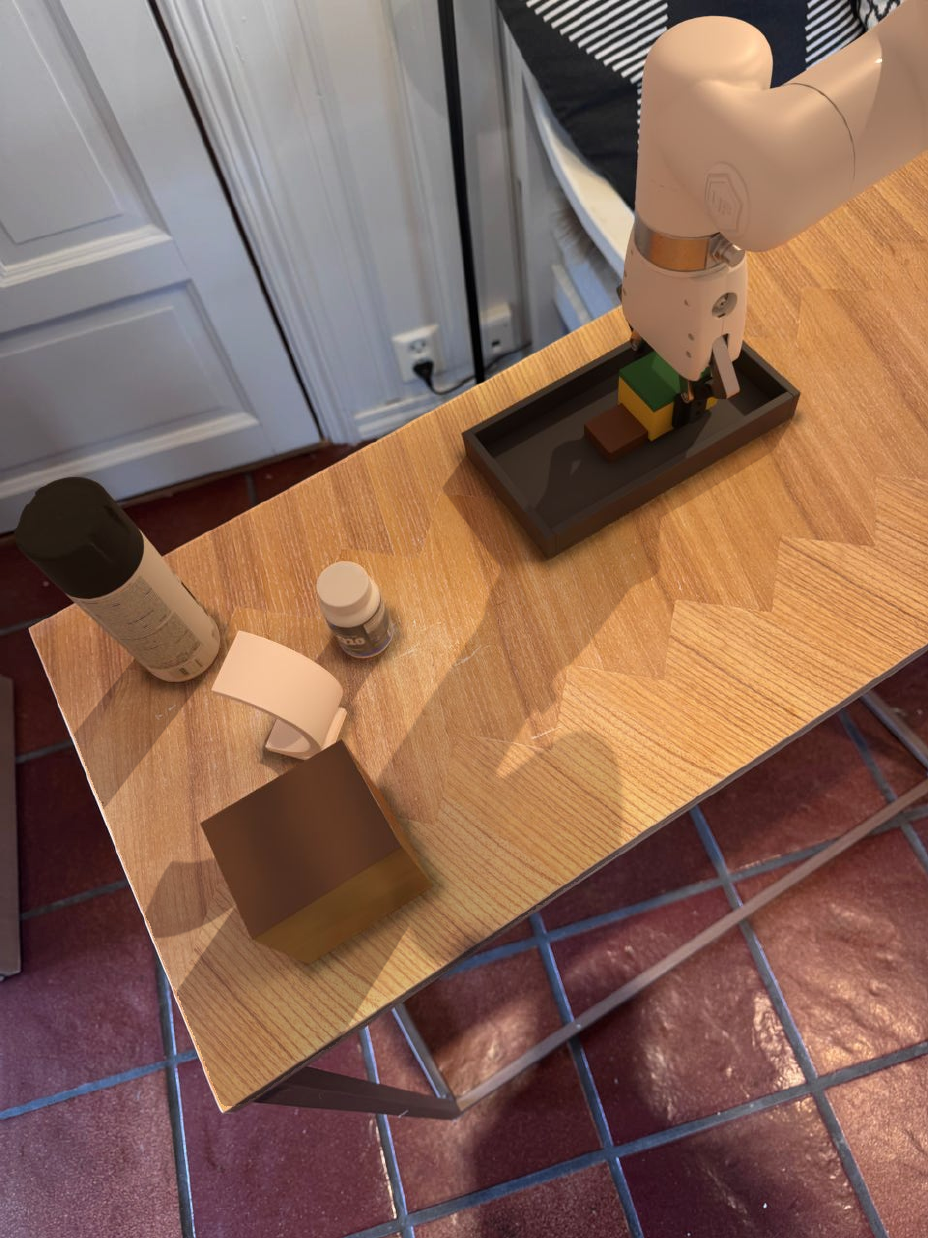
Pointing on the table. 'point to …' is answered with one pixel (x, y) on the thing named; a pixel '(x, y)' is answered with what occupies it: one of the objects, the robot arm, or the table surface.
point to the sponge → (651, 393)
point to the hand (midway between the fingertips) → (667, 398)
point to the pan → (580, 475)
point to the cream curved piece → (284, 694)
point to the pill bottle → (354, 609)
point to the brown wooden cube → (314, 856)
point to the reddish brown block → (615, 432)
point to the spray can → (117, 577)
